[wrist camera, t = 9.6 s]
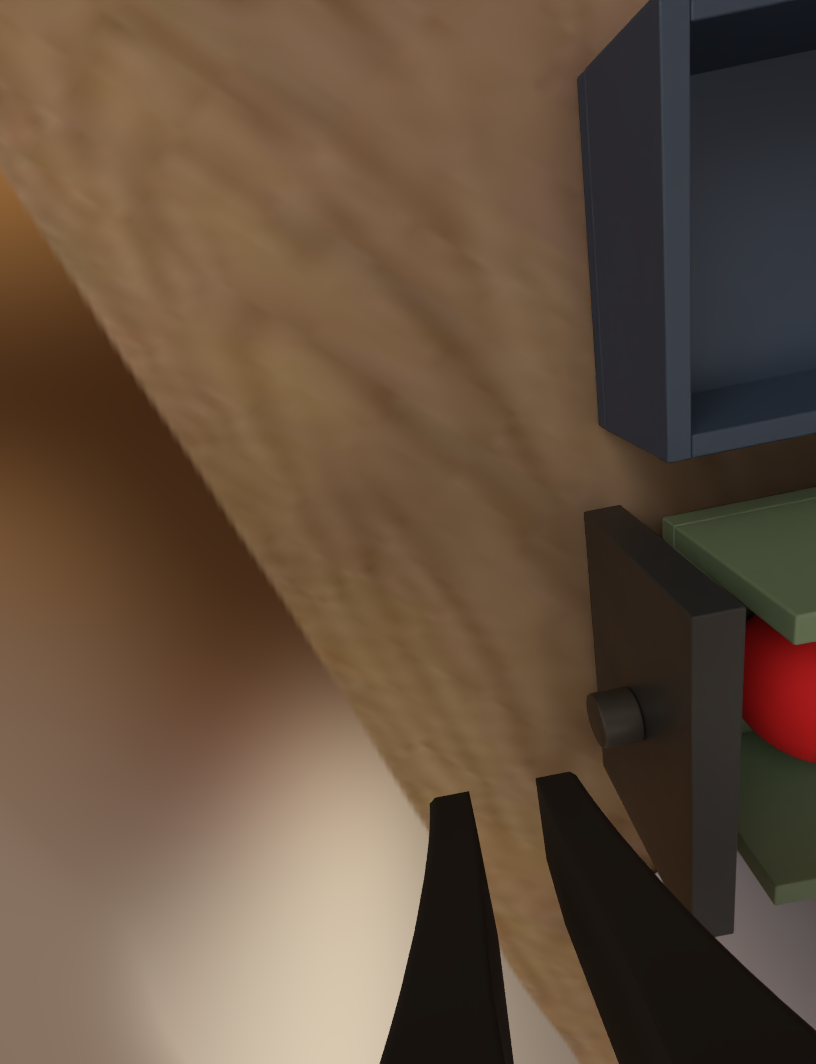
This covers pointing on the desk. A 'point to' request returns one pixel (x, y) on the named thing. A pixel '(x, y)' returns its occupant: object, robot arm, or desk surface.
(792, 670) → the ball
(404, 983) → the robot arm
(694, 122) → the box
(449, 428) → the desk surface
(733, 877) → the drawer
